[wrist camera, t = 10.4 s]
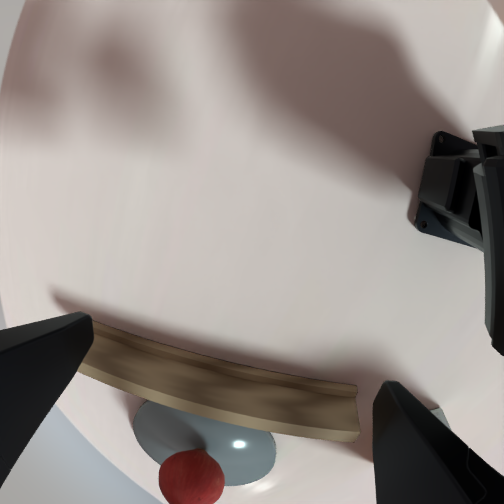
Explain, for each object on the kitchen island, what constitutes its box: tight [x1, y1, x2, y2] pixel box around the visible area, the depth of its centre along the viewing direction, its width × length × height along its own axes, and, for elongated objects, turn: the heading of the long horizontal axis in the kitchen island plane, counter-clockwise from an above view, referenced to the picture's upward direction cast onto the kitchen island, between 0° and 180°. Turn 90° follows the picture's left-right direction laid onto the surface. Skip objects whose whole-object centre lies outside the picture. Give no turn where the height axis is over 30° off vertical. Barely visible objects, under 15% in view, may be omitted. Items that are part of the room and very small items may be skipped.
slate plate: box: [133, 400, 276, 486], centre depth 26 cm, size 14×14×1 cm
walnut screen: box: [77, 321, 361, 443], centre depth 21 cm, size 22×2×4 cm, turn 80°
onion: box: [159, 448, 225, 504], centre depth 21 cm, size 6×6×8 cm
